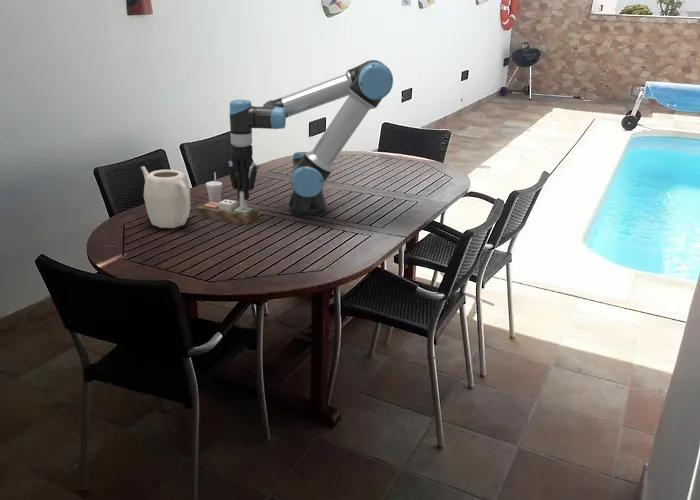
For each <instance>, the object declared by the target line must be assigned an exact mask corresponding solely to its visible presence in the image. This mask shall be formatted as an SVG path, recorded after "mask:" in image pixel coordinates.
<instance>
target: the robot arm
mask: <svg viewBox="0 0 700 500" xmlns="http://www.w3.org/2000/svg"><path fill="white" fill-rule="evenodd" d="M393 84H394V76H393V74H392V71H391V69H390V68H389V67H388V66H387V65H386V64H385V63H383V62H382V61H380V60H375V59H372V60H371V59H370V60H367V61H365V62H363V63H361V64H358V65H357V66H355V67H353V68H352V67H351V68H350V69H347V70H346V71H345V73H344V74H342V75H339V76H336V77H333V78H331V79H329V80H325V81H323V82H320V83H317V84H315V85H314V84H313V85H312V86H308V87H307V88H304V89H301V90H298V91H296V92H292V93H290V94H287V95H285V96H281V97H279V98H277V99H274V100H272V99H271V100H268V101H266V102H265V103H264V104H263V106H254V105H252V101H251V100H248V99H233V100H231V101H230V103H229V115H228V116H229V126H230V130H229V131H230V144H231V146H230V152H231V153H230V154H231V158H230V160H229V161H228V162H225V167H226V168H227V170H228V176H229V178H230V183H231V187H232V189H235V190H237V199H238V200H239V206H240V209H245V208H247V207H248V200H249V199H250V192H249V191H253V189H254V188H255V183H256V178H257V174H258V170H259V169H260V165H259V164H256V163H255V162H254V159H253V145H252V144H253V129H268V130H270V129H271V130H281V129H285V128H286V124H287V123H286V119H287V118H290V117H292V116H295V115H298V114H301V113H303V112H306V111H309V110H311V109H314V108H317V107H320V106H324V105H326V104H329V103H331V102H334V101H337V100H340V99H342V98H345V97H347V98H346V100H345V101H344V103H343V104H342V106H341V107H340V109H339V110H338V111H337V113H336V114H335V116H334V117H333V119H332V121H331V122H330V123H329V125H328V126H327V128H326V130H325V131H324V133H323V134H322V136H321V137H320V139H319V140H318V141H317V143H316V145H315V146H314V148H313V149H312V150H311V151H298V152H294V153H293V155H292V170H291V171H292V172H291V176H290V184H291V188H292V193H291V195H290V199H289V202H288V205H287V207H288V212H289V213H292V214H294V215H298V216H305V217H306V216H307V217H308V216H311V215H313V216H320V215H322V214H325V213H326V212H327V211H326V210H327V209H328V208H327V205H328V204H327V201H326V199H325V194H324V192H323V191H324V190H323V188H324V185H325V182H326V181H327V179H328V178H329V176H330V175H331V174H332V172H333V167H332V166H333V164H334V162H335V161H336V159H337V158H338V156H339V155H340V153H341V151H342V150H343V148H345V146H346V145H347V143H348V142H349V140H350V138H351V137H352V136H353V134H354V133H355V131H356V130H357V129H358V127H359V125H360V124H361V123H362V121H363V120H364V118H365V117H366V115H367V114H368V112H369V111H370V110H373V109H377V107H378V106H379V104H380V103H381V101H382V100H383V99H384V98H385V97H387V95H389V94H390V93H391V91H392V88H393ZM250 169H251V170H250ZM319 214H320V215H319ZM311 217H312V216H311Z"/></svg>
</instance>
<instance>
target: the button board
mask: <svg viewBox="0 0 700 500" xmlns="http://www.w3.org/2000/svg"><path fill="white" fill-rule="evenodd" d="M210 202H211V201H210ZM207 203H209V201H208V202H206V203H205V204H207ZM216 203H217V202H216ZM205 204H202V205H200V206H198V207H197V208H196V211H197V213H196V214H197V217H198V218H205V219H210V220H216V221H222V222H226V223H227V222H228V223H234V224H240V225H244V226H245V225H246V226H249V224H251V223H252V222H253V223H254V222H255V221H256V220H258V219H259V218H260V211H259V210H260V209H259V208H255V207H252V208H253V211H251V212H249V213H248V214H243V213H236V212H234V210H233V211H231V212H230V211H224V210H219V208H217V209H211V208H205V207H204V205H205ZM239 207H240V205H237V208H239ZM247 207H248V208H250V207H249V206H247Z"/></svg>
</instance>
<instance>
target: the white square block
mask: <svg viewBox="0 0 700 500" xmlns="http://www.w3.org/2000/svg"><path fill="white" fill-rule="evenodd" d="M218 205H219V210H224V211H230V212H231V211H233V210H235V209H237V206H238V200H234V199H233V200H232V199H227V198H226V199H223V200H221V201H220V202H219V203H218Z"/></svg>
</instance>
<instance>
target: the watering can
mask: <svg viewBox="0 0 700 500" xmlns="http://www.w3.org/2000/svg"><path fill="white" fill-rule="evenodd" d="M140 169H141V172H142V173H143V177H144V187H143V199H144V203H145V208H146V211H147V215H148V219H149V221H150V223H151V225H152V226H155V227H158V228H159V229H175V228H178V227H182V226H185V225H186V223H187V221H188V218H189V216H190V212H191V188H190V183H189V180H188V178H187V175H186V174H185V173H184V172H182V171H180V170H176V169H159V170H153V171H151V172H149V171H148V170H147V168H146V167H145V166H144V165H143V166H140Z"/></svg>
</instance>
